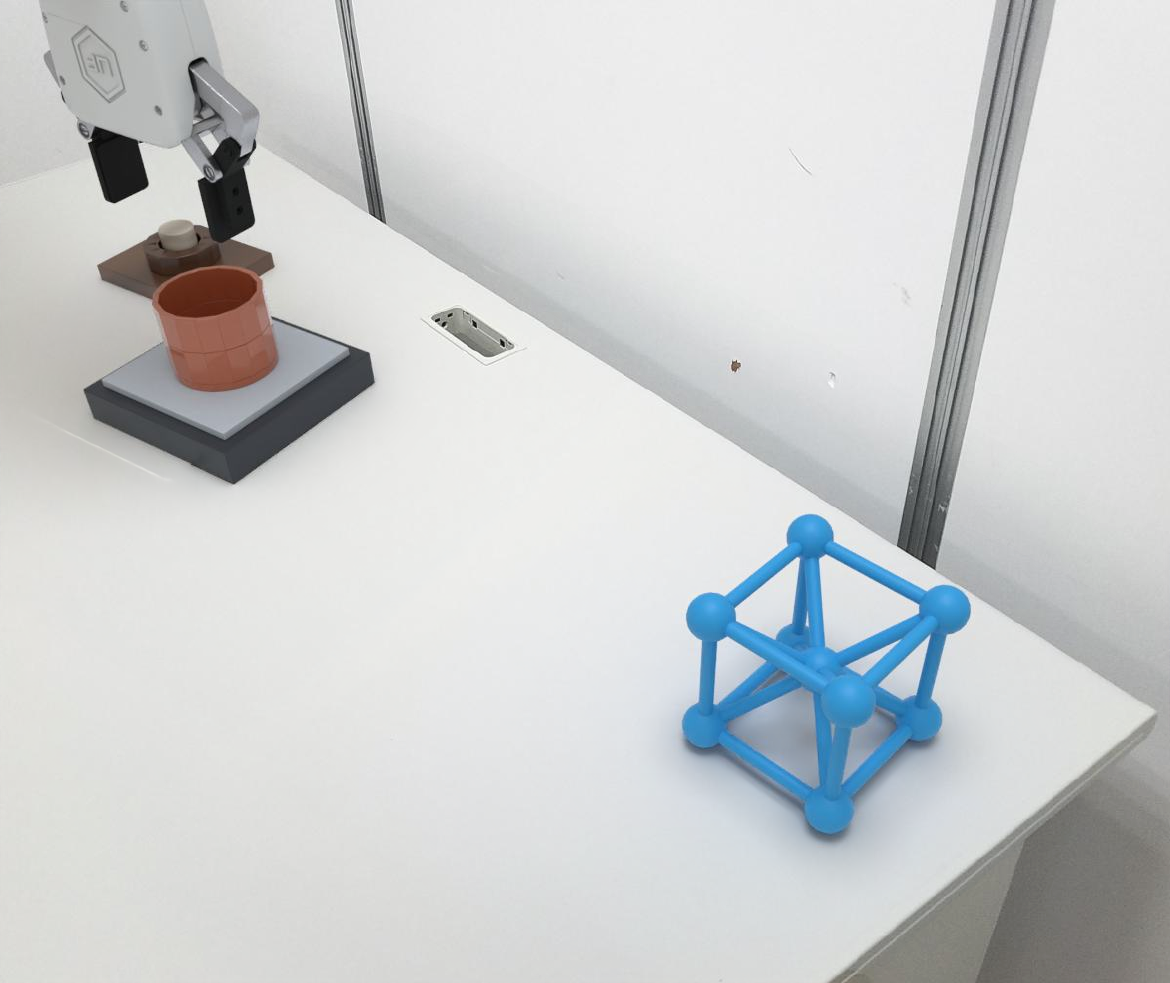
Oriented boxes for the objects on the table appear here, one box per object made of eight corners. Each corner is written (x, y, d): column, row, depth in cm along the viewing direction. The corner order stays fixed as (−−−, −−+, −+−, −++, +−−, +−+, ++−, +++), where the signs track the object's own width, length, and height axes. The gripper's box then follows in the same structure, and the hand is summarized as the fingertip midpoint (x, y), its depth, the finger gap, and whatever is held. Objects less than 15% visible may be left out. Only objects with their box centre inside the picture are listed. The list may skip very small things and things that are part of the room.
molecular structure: (790, 637, 67) (807, 498, 60) (947, 731, 62) (985, 590, 55) (671, 740, 62) (675, 600, 55) (832, 852, 57) (858, 712, 50)
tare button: (155, 247, 98) (150, 229, 97) (181, 233, 99) (176, 216, 98) (179, 256, 96) (174, 238, 95) (205, 241, 98) (200, 224, 97)
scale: (87, 416, 85) (73, 379, 83) (233, 327, 93) (223, 291, 91) (233, 484, 79) (222, 446, 77) (375, 382, 87) (368, 345, 85)
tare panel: (101, 280, 99) (90, 246, 97) (184, 236, 105) (175, 203, 103) (193, 316, 95) (183, 282, 93) (275, 268, 100) (267, 234, 98)
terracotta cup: (152, 372, 83) (129, 301, 79) (228, 325, 87) (210, 256, 84) (225, 403, 80) (204, 331, 76) (300, 353, 84) (285, 282, 81)
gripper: (-58, -93, 66) (43, 203, 78) (158, -41, 59) (233, 275, 71) (55, -123, 70) (134, 160, 82) (268, -79, 63) (321, 225, 75)
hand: (179, 213), depth 76 cm, fingers open, 9 cm apart
